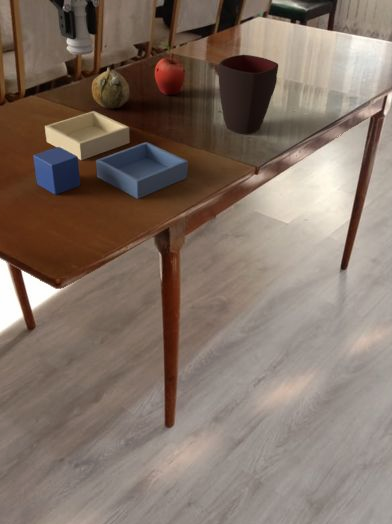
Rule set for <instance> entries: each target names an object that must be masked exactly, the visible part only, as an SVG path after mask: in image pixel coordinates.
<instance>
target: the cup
mask: <svg viewBox="0 0 392 524" xmlns="http://www.w3.org/2000/svg"><path fill="white" fill-rule="evenodd" d="M278 71H279V64H278V63H277V62H275V61H273V60H271V59H268V58H265V57H260V56H256V55H251V54H238V55H237V54H236V55H233V56H229V57H226V58H224V59H222V60H221V61H220V62H219V63H218V89H219V90H218V91H219V97H220V105H221V111H222V116H223V120H224V124H225V127H226V129H228V130H229V131H231V132H234V133H237V134H241V135H246V136H247V135H251V134H253V133H256V132H258V131H259V130H260V129H261V127H262V124H263V122H264V119H265V117H266V114H267V112H268V109H269V107H270V103H271V100H272V97H273V94H274V92H275V89H276V86H277V81H278Z"/></svg>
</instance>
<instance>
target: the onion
mask: <svg viewBox="0 0 392 524" xmlns="http://www.w3.org/2000/svg"><path fill="white" fill-rule="evenodd" d="M106 68H107V69H106V71H103V72H102V73H101V74H99V75H98V76H97V77H95V78H94V79H93V80H92V84H91V94H92V97H93V99H94V101H95V102H96V103H97V104H98V105H99V106H100V107H102V108H105V109H109V110H112V109H118V108H121V107H123V105H125V104H126V103H127V102H128V101H129V99H130V85H129V83H128V82H127V80H126V79H125V77H124V76H123V75H122V74H121V73H119V72H118V70H116V69H115V68H114V69H112V68H110V67H106Z"/></svg>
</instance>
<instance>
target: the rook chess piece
mask: <svg viewBox="0 0 392 524" xmlns="http://www.w3.org/2000/svg"><path fill="white" fill-rule="evenodd" d="M86 5H87V2H86V1H85V0H71V9H70V10H71V11H74V15H75V28H76V38H75V39H73V40H72V39H69V38H67V39H66V44H67V46H66V50H67V51H68V53H69V54H72V55H76V56H85V55H89V54H92V53H93V52H94V49H95V47H94V46H93V44H94V39H92V37H91V34H89V32H88V29H87V24H86V14H87V13H86V12H85V7H86Z"/></svg>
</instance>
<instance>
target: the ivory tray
mask: <svg viewBox="0 0 392 524" xmlns="http://www.w3.org/2000/svg"><path fill="white" fill-rule="evenodd" d="M44 131H45V132H44V133H45V139H46V143H47V144H50V145H51V146H53V147H54V148H56V147H60V148H62V149H64V150H66V151H68V152H70V153H72V154H74V155H76V156H78V160H80V161H83V160H86V159H89V158H92V157H94V156H97V155H101V154H103V153H106V152H108V151H111V150H113V149H114V150H115V149H117V148H119V147H122V146H125V145H128V144H130V143H131V142H130V141H131V140H130V127H129V126H128V125H125V124H123V123H121V122H119V121H116V120H115V119H112V118H110V117H109V116H106V115H104V114H101V113H100V112H97V111H95V110H92V111H89V112H86V113H82V114H79V115H76V116H72V117H70V118H66V119H64V120H60V121H57V122H54V123H50V124H47V125H44Z"/></svg>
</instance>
